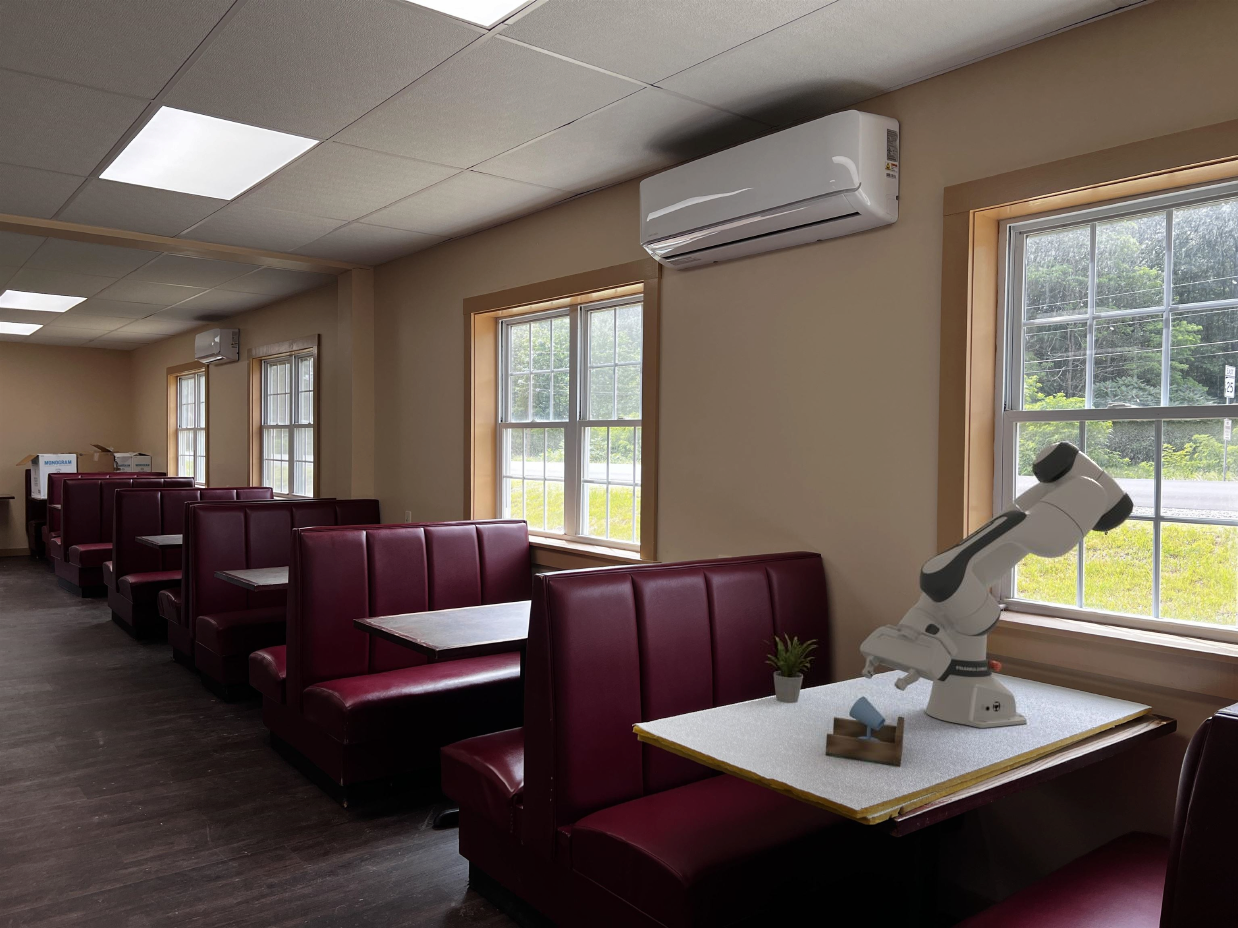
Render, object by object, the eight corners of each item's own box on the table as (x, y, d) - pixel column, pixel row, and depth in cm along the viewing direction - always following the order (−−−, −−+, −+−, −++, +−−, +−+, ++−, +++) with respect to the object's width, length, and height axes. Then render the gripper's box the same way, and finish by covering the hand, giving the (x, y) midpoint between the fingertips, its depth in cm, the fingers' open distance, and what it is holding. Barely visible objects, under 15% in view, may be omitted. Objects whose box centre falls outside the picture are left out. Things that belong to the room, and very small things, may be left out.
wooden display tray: (825, 755, 172) (827, 724, 172) (833, 735, 185) (834, 707, 185) (900, 766, 167) (901, 735, 167) (902, 746, 180) (904, 717, 180)
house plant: (832, 701, 213) (836, 634, 213) (805, 712, 202) (809, 641, 203) (781, 689, 222) (784, 625, 222) (752, 699, 212) (755, 631, 212)
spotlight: (844, 745, 177) (876, 754, 172) (847, 696, 177) (878, 703, 172) (856, 740, 180) (887, 749, 176) (859, 692, 180) (890, 699, 176)
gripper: (877, 613, 192) (839, 659, 188) (950, 632, 174) (910, 684, 169) (891, 632, 194) (854, 679, 190) (964, 653, 176) (926, 705, 171)
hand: (881, 681), depth 179 cm, fingers open, 8 cm apart
